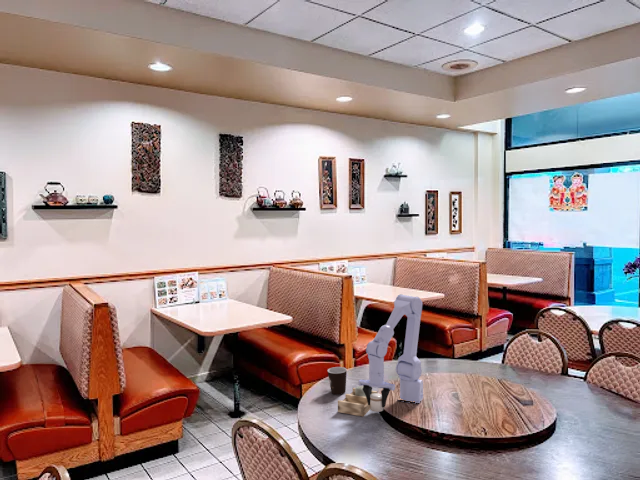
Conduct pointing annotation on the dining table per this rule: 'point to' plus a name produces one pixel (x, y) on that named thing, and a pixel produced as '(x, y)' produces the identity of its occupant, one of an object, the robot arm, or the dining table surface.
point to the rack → (355, 402)
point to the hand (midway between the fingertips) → (376, 405)
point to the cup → (376, 402)
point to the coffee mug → (337, 380)
